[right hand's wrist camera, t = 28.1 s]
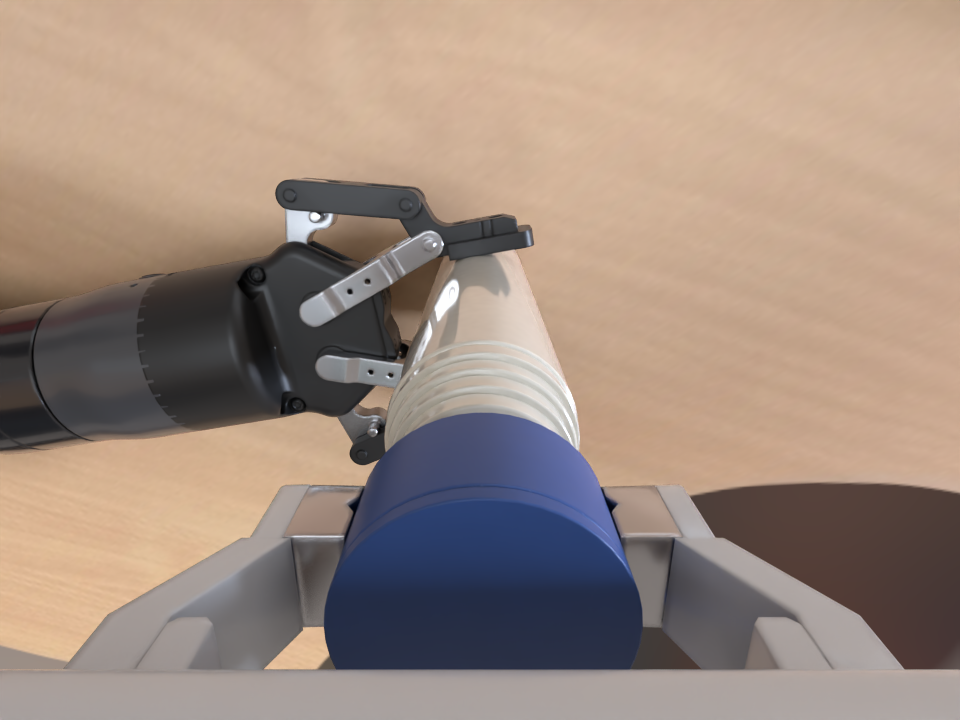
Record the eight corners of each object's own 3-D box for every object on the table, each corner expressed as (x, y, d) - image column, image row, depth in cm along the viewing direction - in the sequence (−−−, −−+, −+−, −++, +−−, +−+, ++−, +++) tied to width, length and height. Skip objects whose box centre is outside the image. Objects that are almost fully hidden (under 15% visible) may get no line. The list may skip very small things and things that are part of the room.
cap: (531, 645, 11) (545, 781, 9) (324, 565, 11) (277, 687, 8) (651, 474, 10) (708, 577, 8) (422, 368, 9) (401, 444, 7)
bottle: (432, 240, 31) (284, 498, 8) (515, 225, 31) (626, 444, 7) (448, 320, 33) (368, 737, 9) (527, 306, 33) (652, 699, 9)
